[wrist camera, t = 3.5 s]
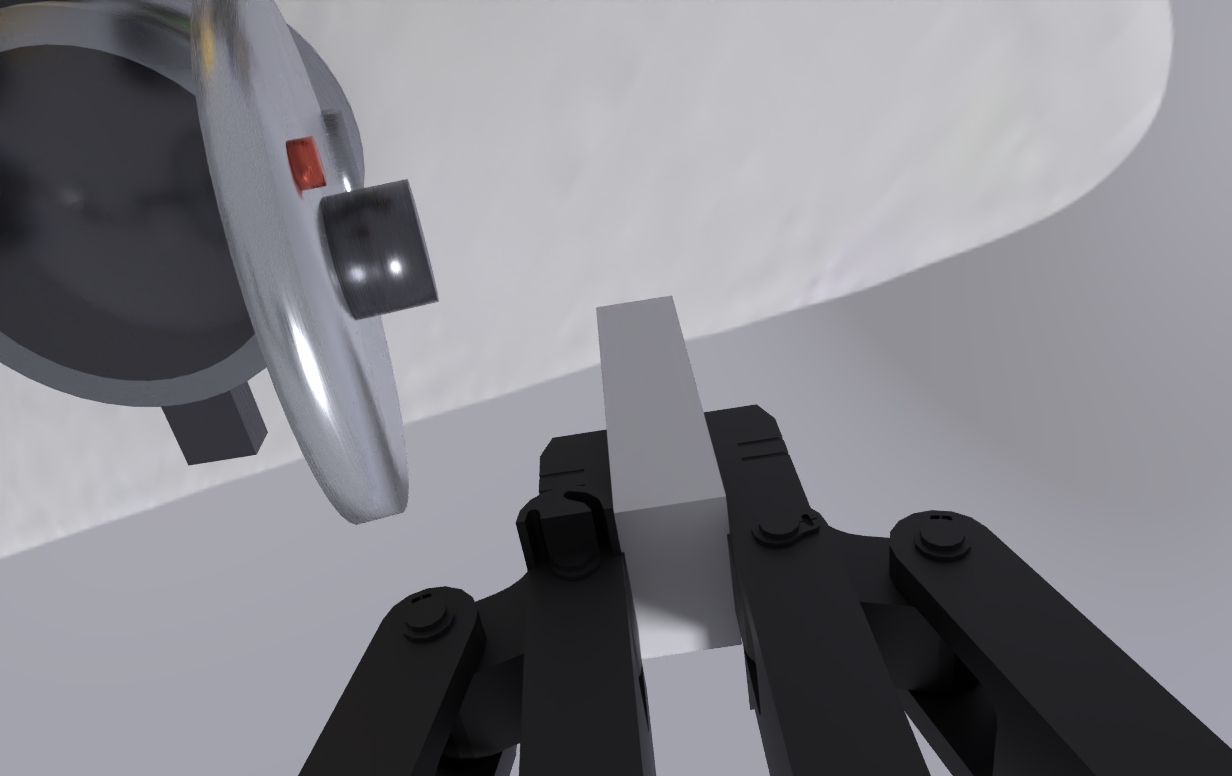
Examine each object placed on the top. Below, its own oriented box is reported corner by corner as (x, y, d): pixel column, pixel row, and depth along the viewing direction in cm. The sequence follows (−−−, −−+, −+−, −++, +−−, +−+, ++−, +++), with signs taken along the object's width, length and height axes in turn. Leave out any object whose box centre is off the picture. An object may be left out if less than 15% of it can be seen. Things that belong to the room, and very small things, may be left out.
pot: (135, 386, 47) (40, 502, 38) (-91, -87, 36) (-294, -75, 27) (453, 335, 47) (431, 440, 38) (323, -158, 36) (250, -168, 27)
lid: (372, 639, 23) (509, 601, 24) (131, 18, 16) (339, -18, 16) (371, 377, 36) (460, 356, 36) (239, -32, 29) (353, -52, 29)
